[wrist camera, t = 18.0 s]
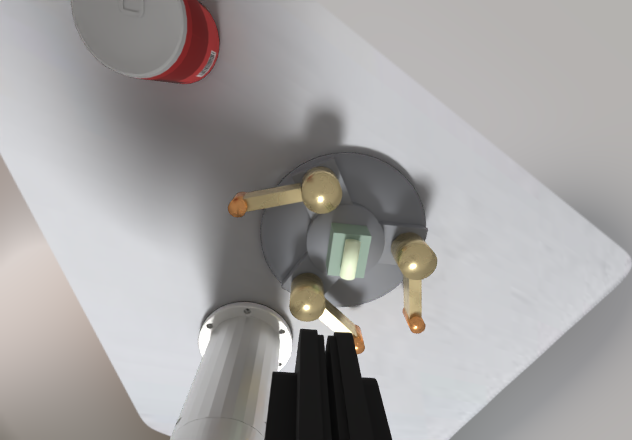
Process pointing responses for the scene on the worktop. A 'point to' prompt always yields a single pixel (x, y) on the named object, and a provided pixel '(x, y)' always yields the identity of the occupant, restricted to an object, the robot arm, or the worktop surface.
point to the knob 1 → (294, 194)
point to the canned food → (149, 37)
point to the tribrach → (345, 230)
